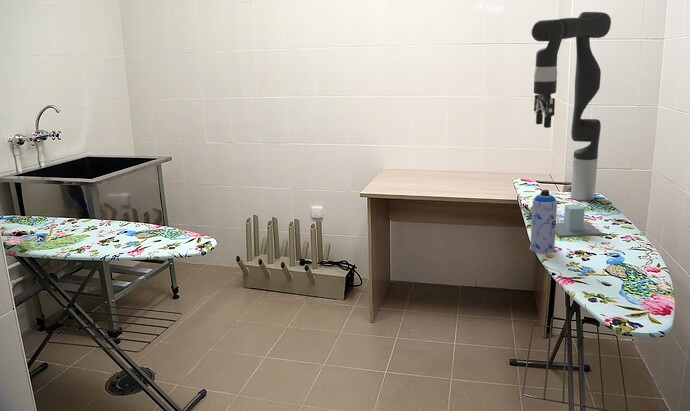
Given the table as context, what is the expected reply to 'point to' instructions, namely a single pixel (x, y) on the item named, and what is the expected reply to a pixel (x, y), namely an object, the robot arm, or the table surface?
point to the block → (574, 217)
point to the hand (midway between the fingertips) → (543, 125)
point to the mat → (586, 231)
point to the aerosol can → (543, 223)
